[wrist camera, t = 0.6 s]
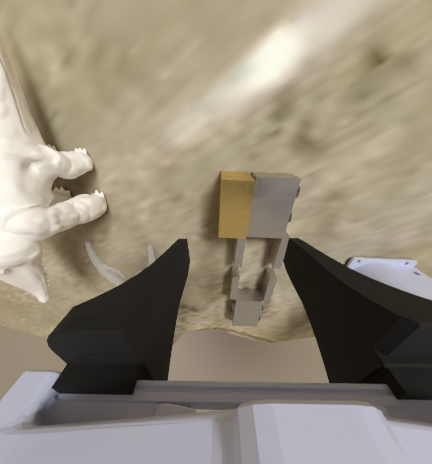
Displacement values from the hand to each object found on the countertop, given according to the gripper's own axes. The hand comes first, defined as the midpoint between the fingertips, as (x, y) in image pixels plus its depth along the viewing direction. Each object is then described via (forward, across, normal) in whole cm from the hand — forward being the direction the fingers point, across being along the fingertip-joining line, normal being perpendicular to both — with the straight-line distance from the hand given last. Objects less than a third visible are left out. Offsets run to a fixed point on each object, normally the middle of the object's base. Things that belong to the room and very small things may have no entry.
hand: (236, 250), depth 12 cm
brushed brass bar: (+10, 0, -1) cm, 10 cm away
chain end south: (+9, -4, +2) cm, 11 cm away
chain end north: (+9, -3, +16) cm, 19 cm away
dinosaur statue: (+10, +17, -5) cm, 20 cm away
